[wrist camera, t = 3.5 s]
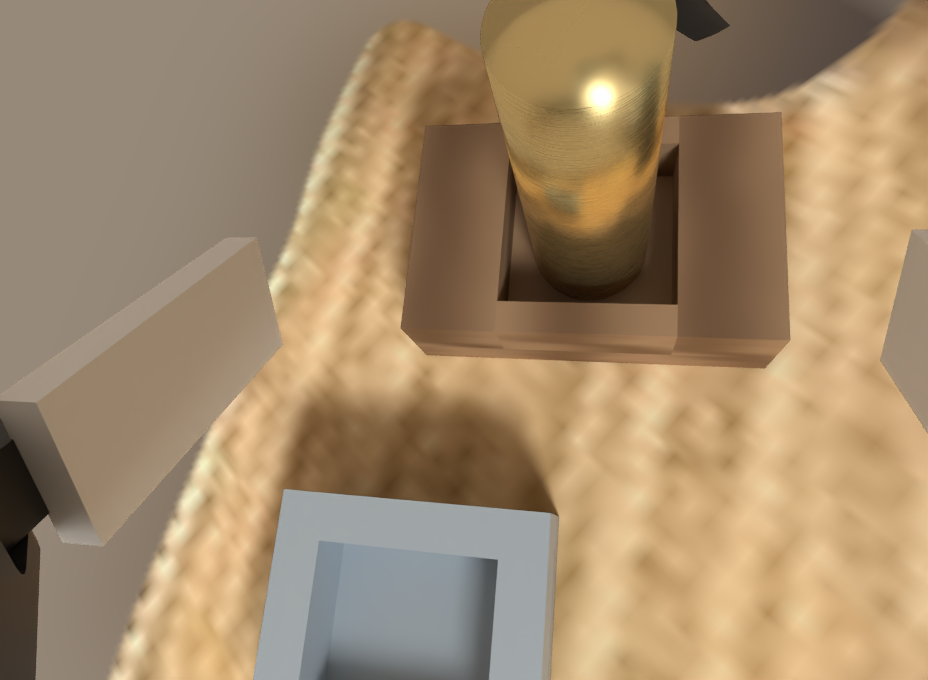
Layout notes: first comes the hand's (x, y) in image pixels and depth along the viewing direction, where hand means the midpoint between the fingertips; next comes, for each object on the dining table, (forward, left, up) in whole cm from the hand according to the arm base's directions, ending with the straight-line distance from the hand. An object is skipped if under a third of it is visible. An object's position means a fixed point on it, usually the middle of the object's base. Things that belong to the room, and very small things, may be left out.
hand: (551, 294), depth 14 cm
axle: (-3, -6, -13) cm, 15 cm away
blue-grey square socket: (+9, +6, -15) cm, 18 cm away
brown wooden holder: (-3, -6, -15) cm, 16 cm away
